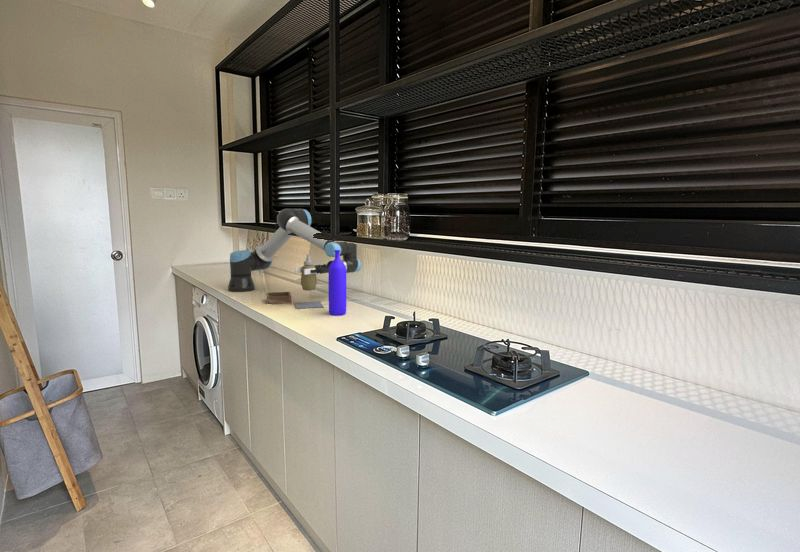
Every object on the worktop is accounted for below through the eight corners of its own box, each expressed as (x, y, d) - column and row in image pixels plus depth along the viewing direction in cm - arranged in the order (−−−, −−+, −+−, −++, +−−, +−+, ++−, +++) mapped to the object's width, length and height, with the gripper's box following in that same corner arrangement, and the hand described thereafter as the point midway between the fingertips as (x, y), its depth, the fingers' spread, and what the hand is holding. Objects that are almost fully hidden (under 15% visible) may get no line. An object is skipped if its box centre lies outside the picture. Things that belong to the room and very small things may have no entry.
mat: (294, 303, 214) (294, 302, 214) (319, 302, 218) (319, 301, 218) (296, 309, 202) (296, 307, 202) (323, 307, 206) (323, 306, 206)
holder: (266, 300, 222) (266, 292, 221) (289, 298, 226) (289, 291, 225) (267, 304, 210) (267, 297, 210) (291, 303, 214) (291, 295, 214)
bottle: (334, 316, 188) (334, 251, 184) (325, 313, 194) (324, 249, 190) (350, 314, 194) (350, 250, 189) (340, 310, 200) (340, 249, 195)
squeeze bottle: (297, 289, 209) (296, 254, 206) (310, 287, 215) (310, 253, 212) (306, 291, 203) (306, 255, 201) (320, 289, 209) (319, 254, 207)
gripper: (348, 276, 215) (312, 280, 198) (324, 272, 228) (288, 276, 211) (348, 261, 214) (311, 265, 197) (324, 258, 227) (288, 262, 210)
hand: (300, 271), depth 204 cm, fingers closed on squeeze bottle, 6 cm apart
